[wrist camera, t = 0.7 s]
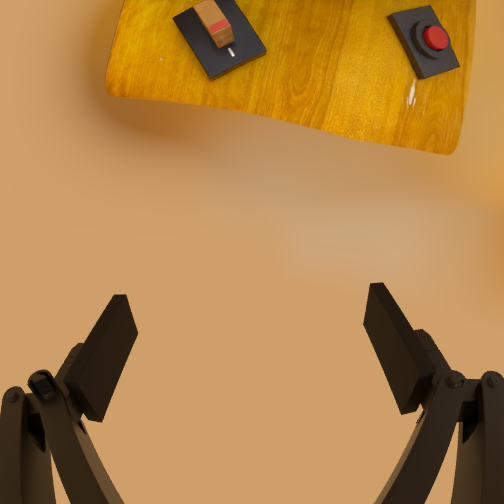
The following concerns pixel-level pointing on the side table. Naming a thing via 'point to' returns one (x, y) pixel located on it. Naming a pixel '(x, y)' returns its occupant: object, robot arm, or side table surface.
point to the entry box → (422, 42)
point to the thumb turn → (214, 22)
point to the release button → (435, 37)
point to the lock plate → (227, 56)
